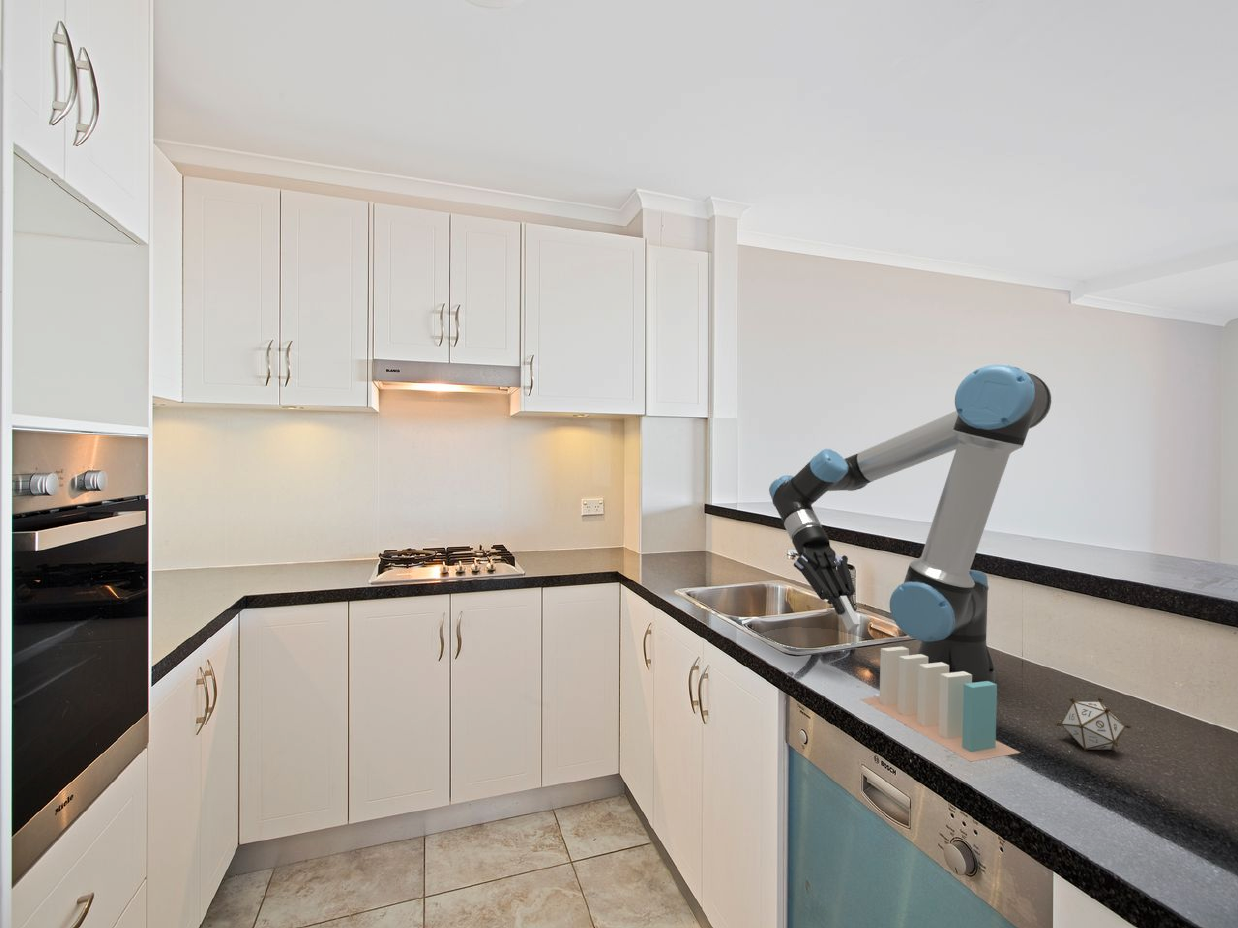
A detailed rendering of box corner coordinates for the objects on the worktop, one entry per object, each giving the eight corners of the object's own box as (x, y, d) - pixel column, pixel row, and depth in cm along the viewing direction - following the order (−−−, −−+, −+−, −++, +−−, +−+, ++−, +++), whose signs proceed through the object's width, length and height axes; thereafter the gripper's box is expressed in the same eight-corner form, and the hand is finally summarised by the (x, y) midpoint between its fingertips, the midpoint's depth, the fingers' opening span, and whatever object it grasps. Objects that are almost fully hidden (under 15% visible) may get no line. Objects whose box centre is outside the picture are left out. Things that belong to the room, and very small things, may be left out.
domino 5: (962, 747, 94) (963, 683, 94) (986, 743, 95) (987, 680, 95) (970, 752, 92) (972, 687, 92) (995, 747, 94) (997, 684, 94)
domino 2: (897, 711, 106) (899, 656, 106) (920, 708, 108) (921, 653, 108) (904, 715, 105) (905, 659, 105) (927, 712, 106) (928, 656, 106)
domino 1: (879, 702, 111) (880, 648, 111) (901, 699, 112) (902, 646, 112) (885, 705, 109) (887, 651, 109) (907, 702, 111) (909, 648, 111)
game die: (1090, 767, 97) (1106, 711, 100) (1134, 775, 89) (1151, 713, 92) (1037, 735, 98) (1055, 681, 101) (1076, 740, 90) (1094, 680, 93)
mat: (860, 701, 112) (860, 698, 112) (902, 696, 115) (902, 693, 115) (970, 765, 89) (970, 761, 89) (1020, 756, 92) (1020, 752, 92)
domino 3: (917, 722, 102) (918, 664, 102) (940, 719, 104) (941, 662, 104) (924, 726, 101) (926, 667, 101) (947, 723, 102) (949, 665, 102)
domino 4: (938, 734, 98) (940, 673, 98) (962, 730, 99) (963, 671, 99) (946, 738, 96) (948, 677, 96) (970, 735, 98) (972, 674, 98)
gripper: (823, 543, 141) (871, 634, 125) (775, 544, 137) (818, 638, 121) (839, 523, 135) (890, 615, 120) (789, 524, 132) (835, 619, 116)
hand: (854, 627), depth 120 cm, fingers closed
